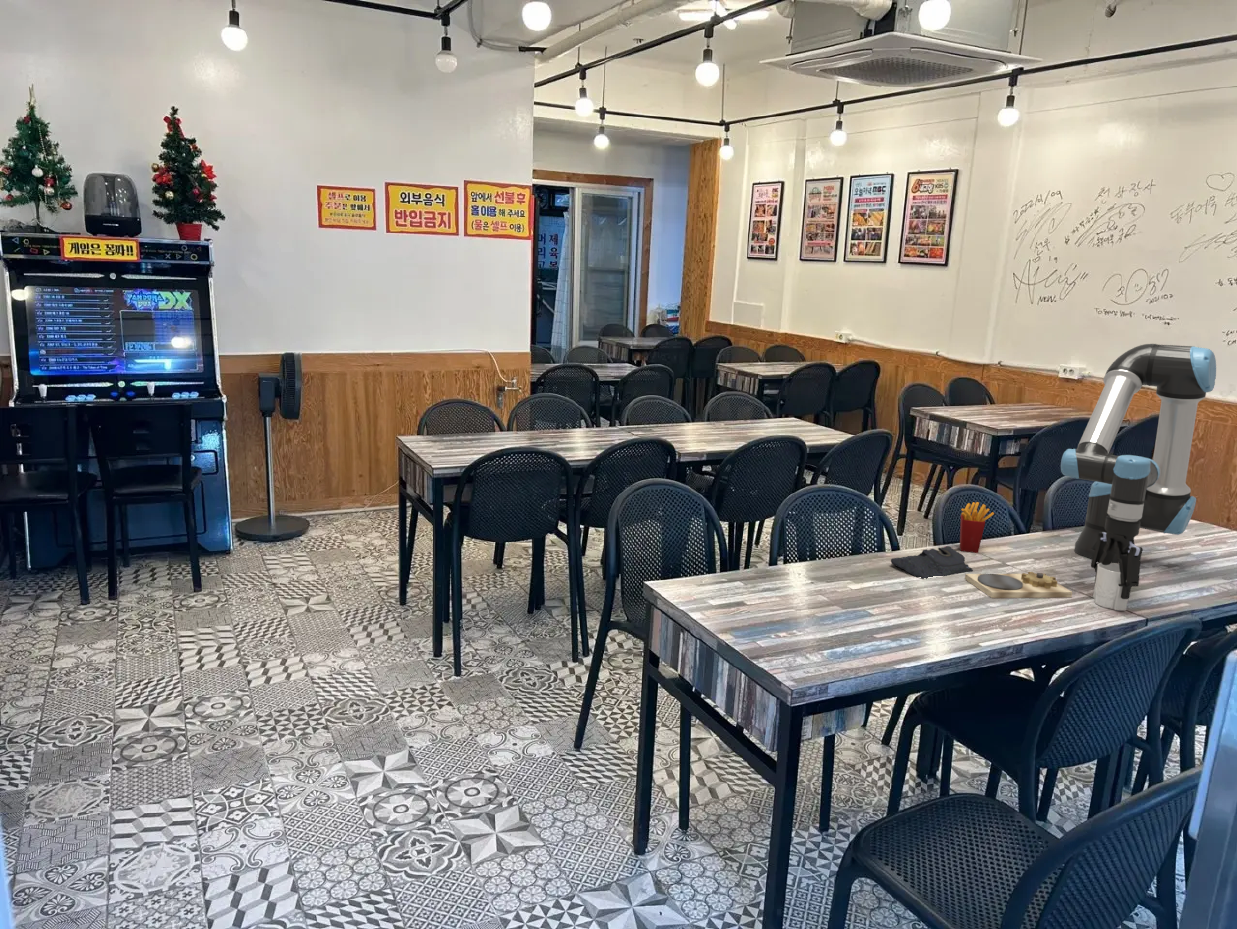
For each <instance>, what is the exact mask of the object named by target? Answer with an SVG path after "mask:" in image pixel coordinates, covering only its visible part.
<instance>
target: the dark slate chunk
mask: <svg viewBox="0 0 1237 929" xmlns="http://www.w3.org/2000/svg"><path fill="white" fill-rule="evenodd" d="M965 561H966V558H965V556H964V555H963V554H962V553H960V552H959V551H957V550H955V549H954V548H952V547H951V546H950V545H947V546H946V545H945V546H944V547H938V548H937V549H935V548H930V549H923V550H922V552H921V553H919V554H916V555H907V556H902V557H894V558H893V557H892V558H891V559H890V563H891V564H892V565H893V566H895V567H897V568H900V569H901V570H904V571H905V572H907V573H908V574H910V575H912V576H914V577H915V576H917V577H916V578H918V577H921V578H920V579H922V578H928V577H933V576H943V577H947V576H953V575H954V576H955V575H959V574H967V573H971V572H974V570H973V568H971V567H970V566H969V564H966V563H965Z"/></svg>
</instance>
